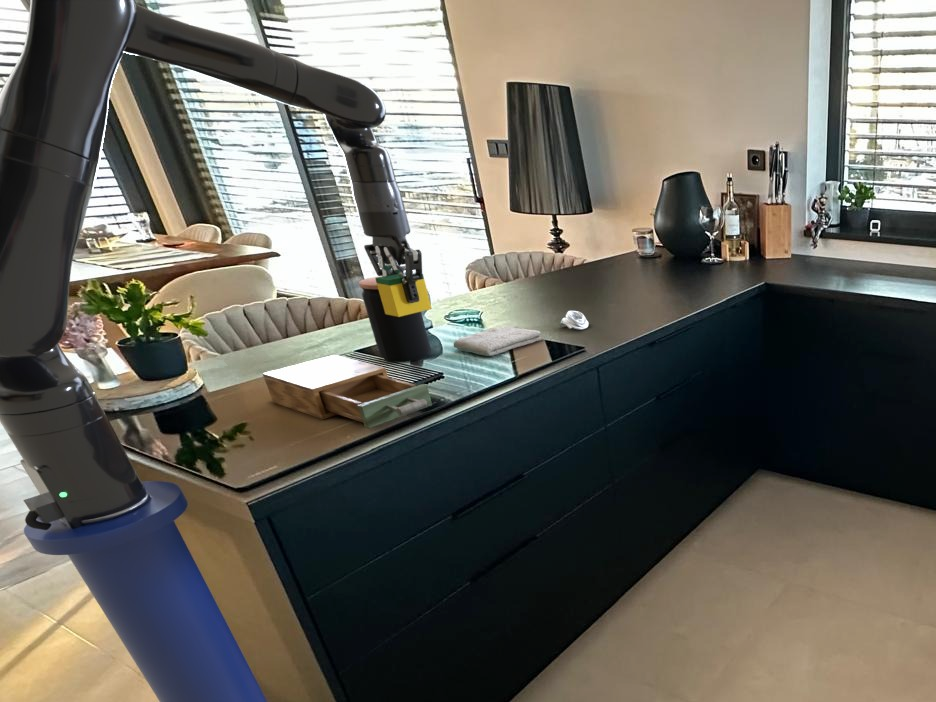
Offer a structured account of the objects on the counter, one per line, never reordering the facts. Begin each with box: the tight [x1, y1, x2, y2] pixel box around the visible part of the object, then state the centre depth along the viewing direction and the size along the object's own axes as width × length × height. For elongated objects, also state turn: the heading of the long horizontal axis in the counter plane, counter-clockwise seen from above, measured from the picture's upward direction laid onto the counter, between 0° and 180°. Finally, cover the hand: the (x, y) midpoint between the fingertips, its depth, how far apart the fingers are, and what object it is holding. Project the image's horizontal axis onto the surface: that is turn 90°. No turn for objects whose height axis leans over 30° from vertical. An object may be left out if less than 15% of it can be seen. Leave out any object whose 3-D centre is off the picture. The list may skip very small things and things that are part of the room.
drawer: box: [319, 374, 433, 429], centre depth 117 cm, size 20×12×4 cm, turn 63°
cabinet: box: [262, 354, 389, 420], centre depth 124 cm, size 17×14×6 cm
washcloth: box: [452, 325, 543, 357], centre depth 158 cm, size 12×18×3 cm, turn 155°
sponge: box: [375, 271, 433, 317], centre depth 122 cm, size 7×4×7 cm, turn 153°
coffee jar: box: [358, 276, 431, 363], centre depth 145 cm, size 11×11×18 cm
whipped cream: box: [559, 310, 589, 330], centre depth 174 cm, size 8×7×5 cm
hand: (406, 300), depth 122 cm, fingers closed on sponge, 4 cm apart
